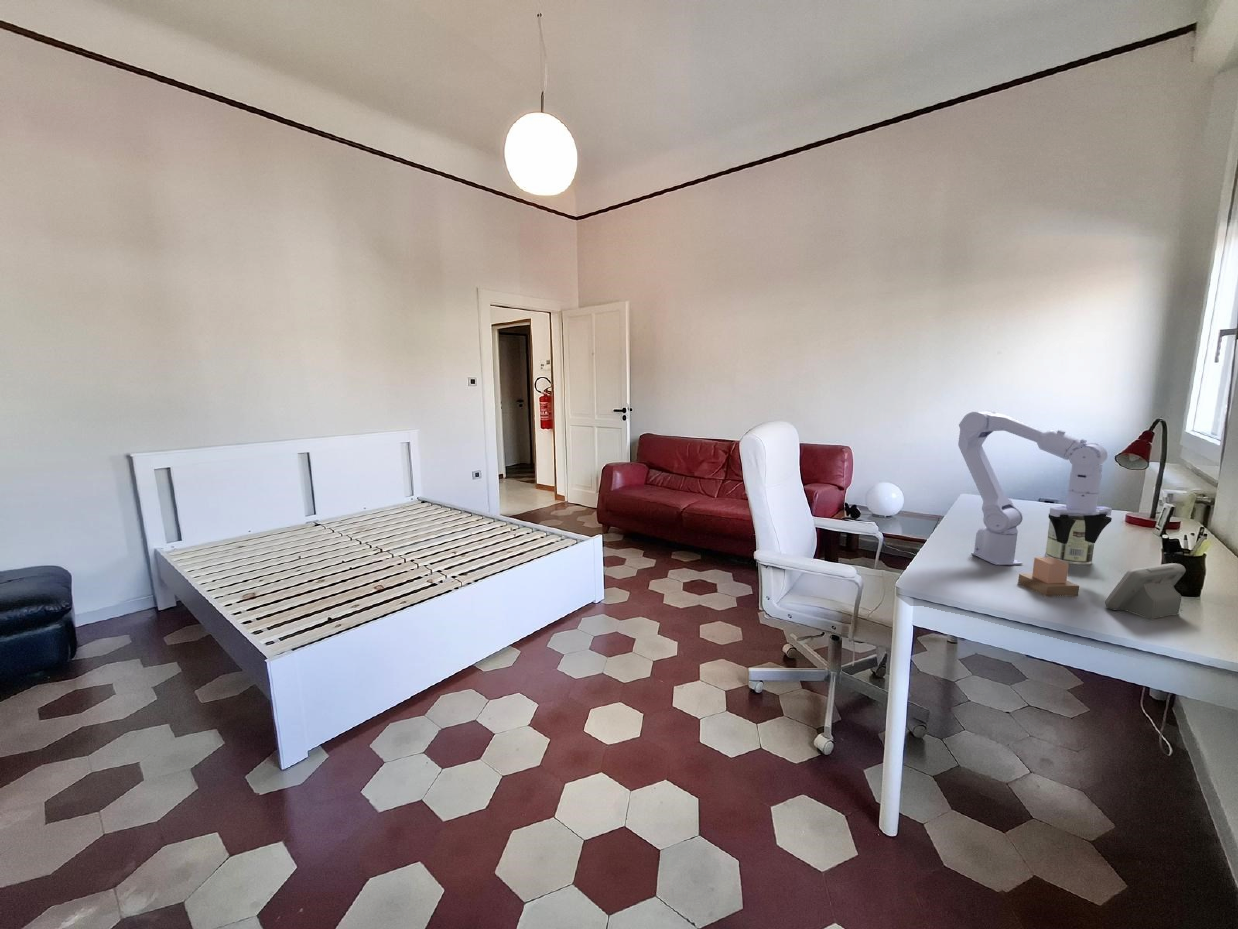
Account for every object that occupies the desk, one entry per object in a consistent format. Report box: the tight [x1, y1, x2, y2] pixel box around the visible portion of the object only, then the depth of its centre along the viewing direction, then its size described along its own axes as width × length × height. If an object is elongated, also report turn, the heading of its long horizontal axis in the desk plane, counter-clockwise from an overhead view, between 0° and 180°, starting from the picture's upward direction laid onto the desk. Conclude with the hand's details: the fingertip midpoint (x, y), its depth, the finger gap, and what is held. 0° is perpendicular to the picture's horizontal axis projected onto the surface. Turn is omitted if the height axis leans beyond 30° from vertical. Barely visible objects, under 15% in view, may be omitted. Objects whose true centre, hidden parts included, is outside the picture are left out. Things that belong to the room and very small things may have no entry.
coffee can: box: [1044, 515, 1095, 566], centre depth 140 cm, size 10×10×14 cm
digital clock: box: [1104, 562, 1187, 620], centre depth 108 cm, size 16×9×11 cm, turn 93°
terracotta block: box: [1031, 556, 1070, 583], centre depth 120 cm, size 4×4×5 cm
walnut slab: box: [1017, 573, 1080, 598], centre depth 120 cm, size 8×8×3 cm
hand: (1075, 542), depth 125 cm, fingers open, 7 cm apart
